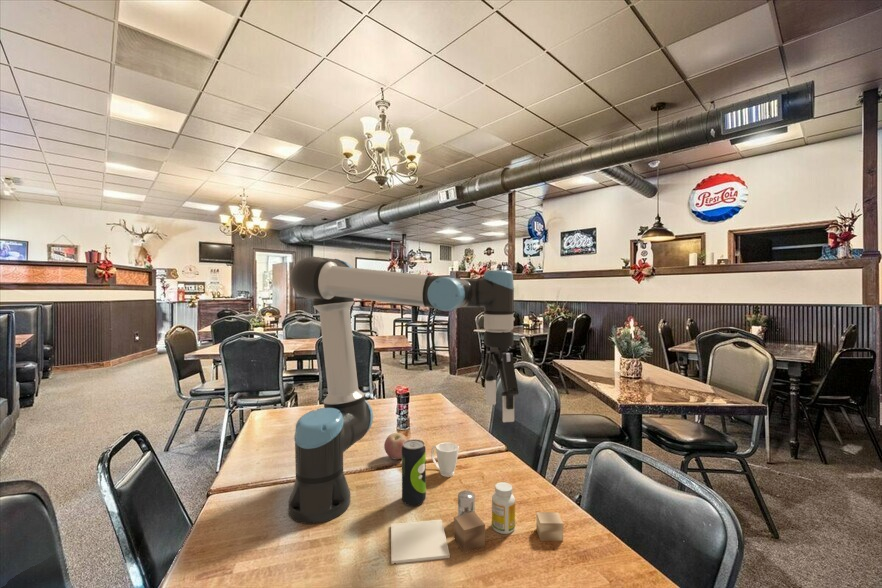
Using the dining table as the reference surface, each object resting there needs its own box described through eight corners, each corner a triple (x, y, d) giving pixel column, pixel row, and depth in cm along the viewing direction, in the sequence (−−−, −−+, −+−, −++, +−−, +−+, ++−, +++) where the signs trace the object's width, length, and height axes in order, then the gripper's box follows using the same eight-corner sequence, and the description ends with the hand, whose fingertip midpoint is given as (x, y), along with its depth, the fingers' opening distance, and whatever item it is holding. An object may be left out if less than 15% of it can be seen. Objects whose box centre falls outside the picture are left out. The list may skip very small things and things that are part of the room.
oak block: (540, 541, 82) (540, 523, 82) (536, 529, 86) (536, 512, 86) (563, 541, 82) (563, 523, 82) (558, 529, 86) (558, 512, 86)
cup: (448, 481, 107) (448, 454, 107) (423, 470, 114) (423, 444, 114) (463, 472, 113) (463, 446, 112) (439, 462, 119) (439, 437, 119)
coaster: (391, 564, 75) (391, 561, 75) (391, 526, 87) (391, 523, 87) (449, 557, 77) (449, 555, 77) (441, 521, 89) (441, 519, 89)
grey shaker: (459, 525, 88) (459, 500, 87) (456, 515, 92) (456, 491, 91) (476, 524, 88) (476, 499, 88) (472, 514, 92) (472, 490, 92)
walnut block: (464, 553, 78) (464, 530, 78) (454, 539, 83) (454, 516, 83) (485, 547, 80) (485, 524, 80) (474, 533, 85) (474, 511, 85)
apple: (380, 462, 120) (380, 437, 120) (390, 452, 127) (390, 428, 127) (403, 465, 117) (403, 440, 117) (412, 455, 125) (412, 431, 125)
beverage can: (399, 496, 100) (399, 441, 100) (421, 492, 102) (421, 437, 102) (405, 509, 94) (405, 450, 94) (428, 504, 96) (428, 446, 96)
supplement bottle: (494, 535, 84) (494, 493, 84) (489, 520, 89) (489, 481, 89) (518, 534, 85) (518, 492, 84) (511, 519, 90) (511, 479, 90)
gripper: (532, 336, 85) (532, 429, 85) (496, 325, 109) (497, 397, 109) (501, 337, 83) (501, 431, 84) (472, 325, 108) (472, 398, 108)
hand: (499, 412), depth 97 cm, fingers open, 13 cm apart
